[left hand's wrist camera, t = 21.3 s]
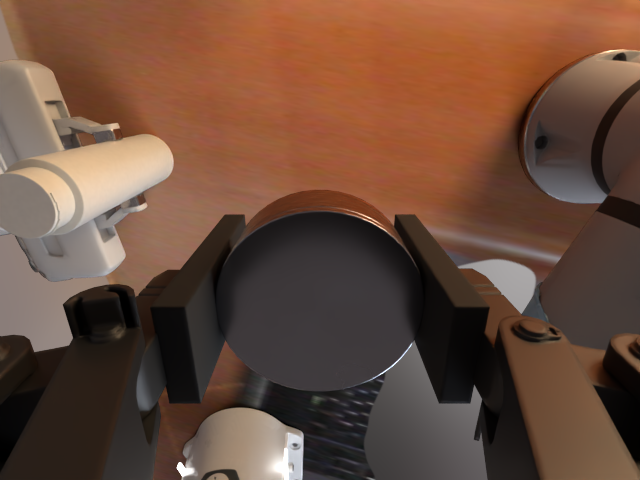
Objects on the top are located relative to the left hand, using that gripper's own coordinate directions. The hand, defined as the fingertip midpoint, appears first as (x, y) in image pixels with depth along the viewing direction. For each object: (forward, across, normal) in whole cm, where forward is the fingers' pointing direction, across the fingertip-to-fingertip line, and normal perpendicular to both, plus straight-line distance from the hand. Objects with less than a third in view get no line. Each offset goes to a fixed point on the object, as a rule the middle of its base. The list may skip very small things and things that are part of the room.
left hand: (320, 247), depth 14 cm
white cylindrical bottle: (+27, +19, +1) cm, 33 cm away
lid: (-4, 0, 0) cm, 4 cm away
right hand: (+21, +18, +1) cm, 28 cm away
